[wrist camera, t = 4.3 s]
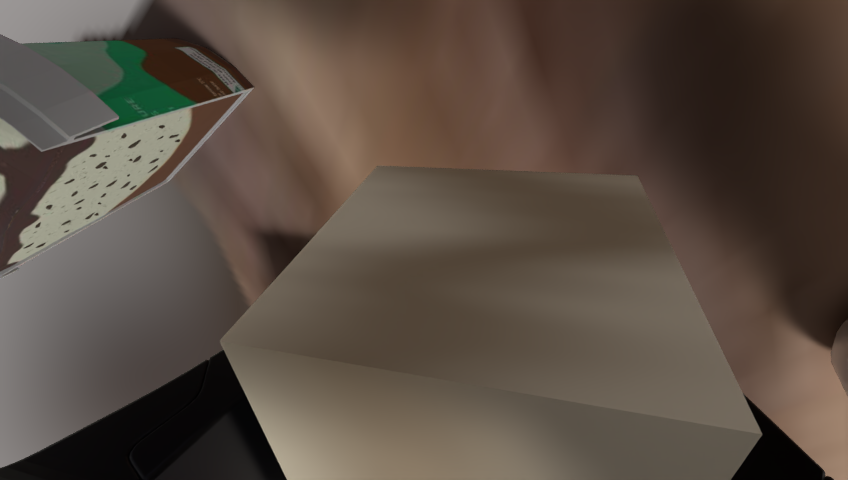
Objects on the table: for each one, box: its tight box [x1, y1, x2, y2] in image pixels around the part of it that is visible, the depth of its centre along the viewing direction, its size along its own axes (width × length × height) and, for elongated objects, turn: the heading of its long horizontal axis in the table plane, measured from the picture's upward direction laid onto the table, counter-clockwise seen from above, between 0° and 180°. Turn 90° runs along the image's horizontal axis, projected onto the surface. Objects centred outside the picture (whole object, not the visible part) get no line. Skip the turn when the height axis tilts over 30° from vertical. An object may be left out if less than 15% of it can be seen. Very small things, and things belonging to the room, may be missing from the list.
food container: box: [0, 35, 254, 279], centre depth 16 cm, size 12×6×10 cm, turn 128°
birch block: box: [220, 166, 762, 480], centre depth 7 cm, size 5×5×5 cm
